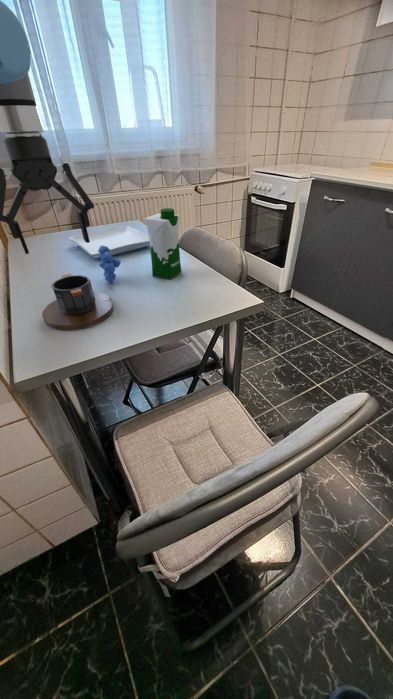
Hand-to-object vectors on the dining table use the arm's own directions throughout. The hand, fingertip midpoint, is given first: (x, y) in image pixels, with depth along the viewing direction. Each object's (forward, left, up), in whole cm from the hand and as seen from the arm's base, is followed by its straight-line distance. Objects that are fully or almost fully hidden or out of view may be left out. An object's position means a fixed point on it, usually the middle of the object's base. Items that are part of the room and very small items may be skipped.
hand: (58, 246), depth 69 cm
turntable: (0, -1, -17) cm, 17 cm away
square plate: (+25, +48, -17) cm, 57 cm away
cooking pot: (0, -1, -16) cm, 16 cm away
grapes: (+14, +13, -17) cm, 26 cm away
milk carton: (+31, +9, -17) cm, 37 cm away
